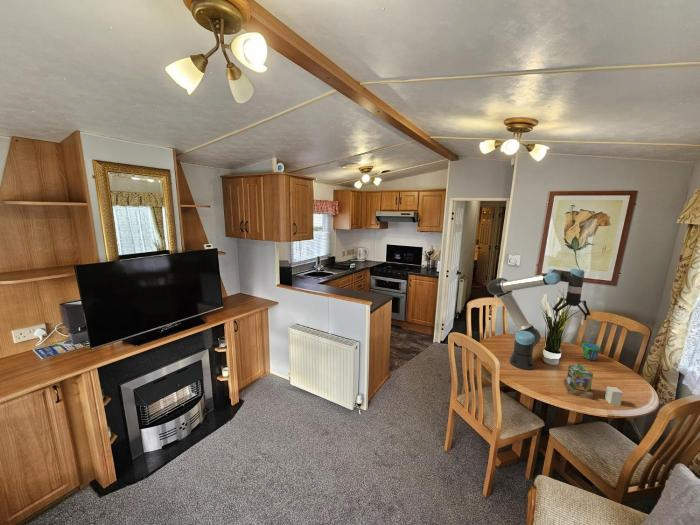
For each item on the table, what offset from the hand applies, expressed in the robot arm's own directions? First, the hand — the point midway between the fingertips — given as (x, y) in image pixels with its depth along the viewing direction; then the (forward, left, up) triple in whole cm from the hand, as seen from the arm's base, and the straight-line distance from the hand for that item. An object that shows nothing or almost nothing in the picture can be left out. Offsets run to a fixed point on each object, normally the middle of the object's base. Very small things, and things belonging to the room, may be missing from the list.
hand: (569, 322), depth 195 cm
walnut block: (+3, -26, -35) cm, 44 cm away
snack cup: (+22, +30, -35) cm, 51 cm away
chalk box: (+3, -26, -32) cm, 41 cm away
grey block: (+19, -29, -35) cm, 49 cm away
